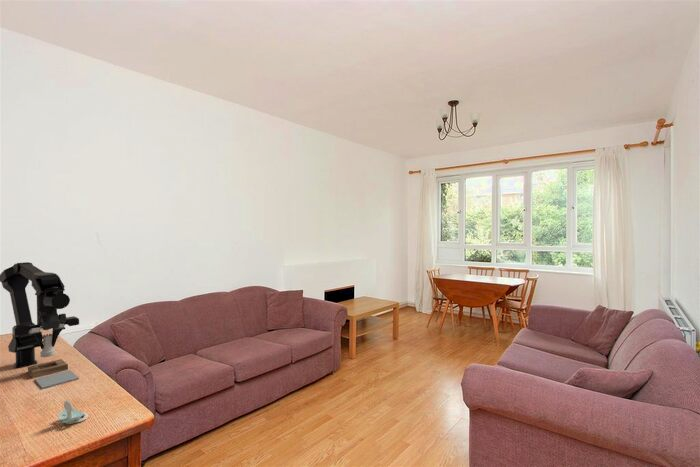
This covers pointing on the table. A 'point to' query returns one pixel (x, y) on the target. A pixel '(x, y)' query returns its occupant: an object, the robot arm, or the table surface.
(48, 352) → the rook chess piece
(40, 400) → the table surface
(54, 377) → the slate mat
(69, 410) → the pacifier
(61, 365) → the socket block
